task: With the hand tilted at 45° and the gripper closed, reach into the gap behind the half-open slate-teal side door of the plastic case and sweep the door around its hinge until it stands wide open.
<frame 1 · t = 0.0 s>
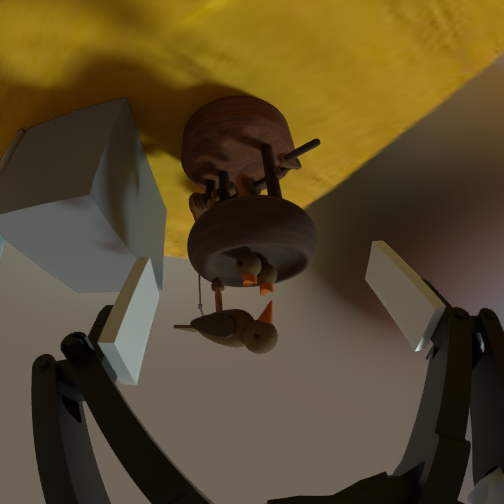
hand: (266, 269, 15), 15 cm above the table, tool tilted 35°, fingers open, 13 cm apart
case: (101, 172, 26), on the table
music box: (241, 133, 25), on the table
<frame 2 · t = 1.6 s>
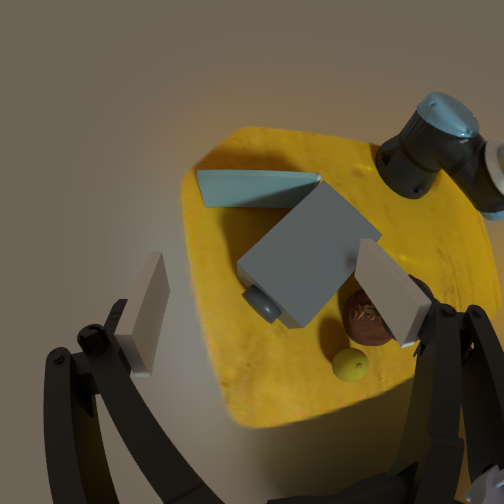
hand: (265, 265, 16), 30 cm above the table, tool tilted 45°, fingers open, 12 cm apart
lemon: (340, 362, 42), on the table
case: (299, 266, 47), on the table
side door: (258, 187, 44), point 6 cm above the table, hinge at 45.0°
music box: (372, 316, 45), on the table
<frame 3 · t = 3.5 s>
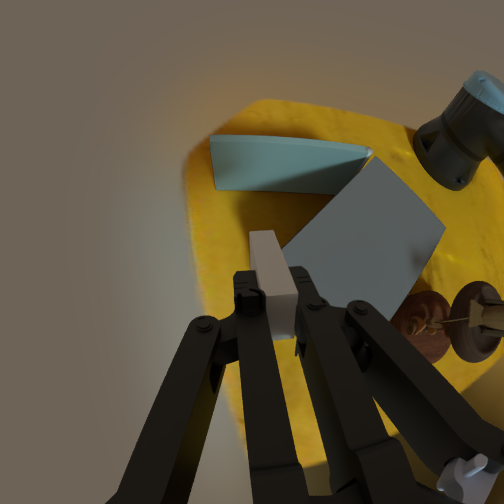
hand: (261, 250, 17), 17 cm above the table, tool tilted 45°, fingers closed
case: (339, 267, 35), on the table
side door: (288, 163, 33), point 6 cm above the table, hinge at 45.0°
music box: (420, 328, 33), on the table
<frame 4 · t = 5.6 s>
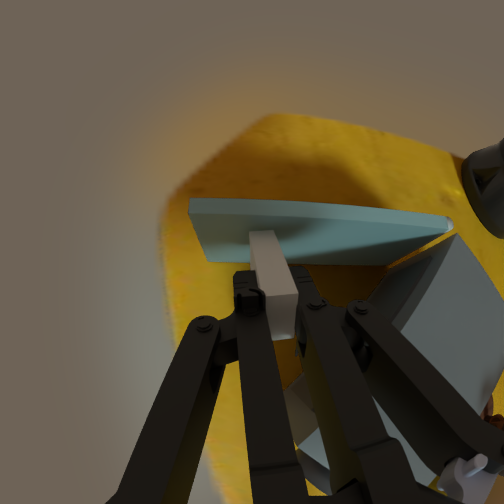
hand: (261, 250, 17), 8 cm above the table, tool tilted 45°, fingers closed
lemon: (410, 482, 19), on the table
case: (377, 370, 23), on the table
side door: (321, 233, 21), point 6 cm above the table, hinge at 45.5°, touching gripper
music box: (456, 418, 21), on the table
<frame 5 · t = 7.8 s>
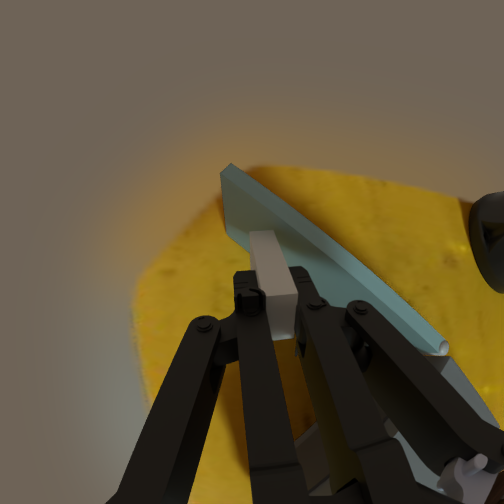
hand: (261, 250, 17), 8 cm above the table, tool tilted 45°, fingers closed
case: (354, 449, 21), on the table
side door: (328, 275, 20), point 6 cm above the table, hinge at 84.4°, touching gripper
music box: (434, 476, 19), on the table
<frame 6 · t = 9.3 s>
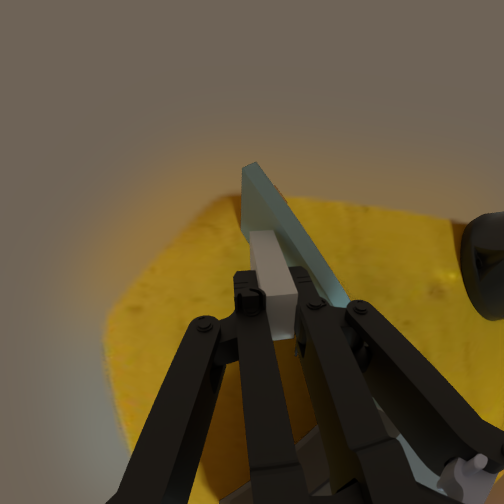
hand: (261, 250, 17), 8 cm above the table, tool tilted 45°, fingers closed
case: (322, 481, 19), on the table
side door: (318, 300, 19), point 6 cm above the table, hinge at 103.9°, touching gripper
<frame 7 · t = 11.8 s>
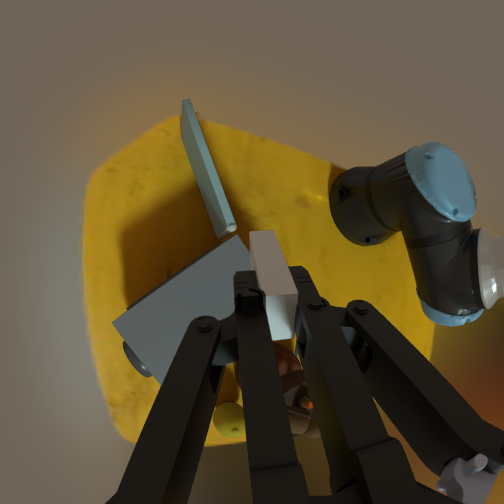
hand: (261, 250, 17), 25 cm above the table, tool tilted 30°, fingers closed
lemon: (226, 407, 41), on the table
case: (198, 307, 41), on the table
side door: (207, 171, 36), point 6 cm above the table, hinge at 103.9°
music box: (269, 370, 43), on the table
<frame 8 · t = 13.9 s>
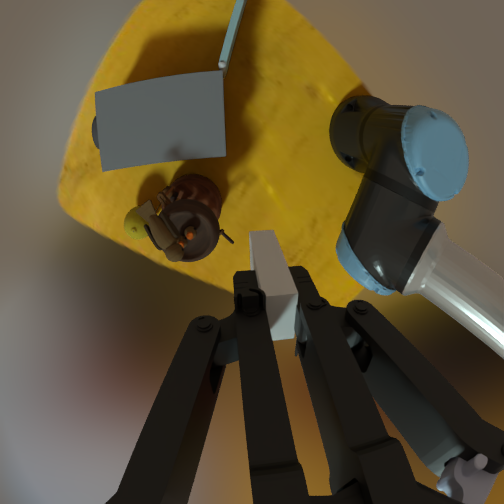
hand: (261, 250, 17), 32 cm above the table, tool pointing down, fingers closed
lemon: (145, 213, 49), on the table
case: (171, 119, 41), on the table
side door: (239, 22, 29), point 6 cm above the table, hinge at 103.9°
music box: (196, 204, 49), on the table
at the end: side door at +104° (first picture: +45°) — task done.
